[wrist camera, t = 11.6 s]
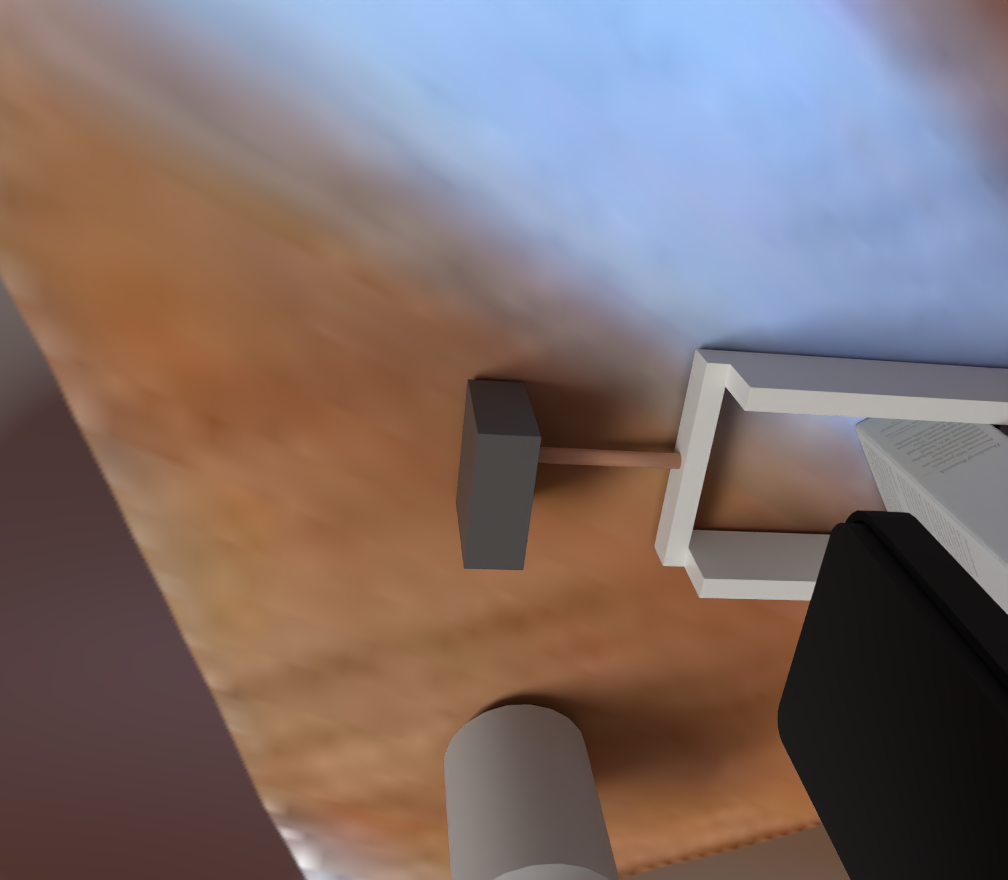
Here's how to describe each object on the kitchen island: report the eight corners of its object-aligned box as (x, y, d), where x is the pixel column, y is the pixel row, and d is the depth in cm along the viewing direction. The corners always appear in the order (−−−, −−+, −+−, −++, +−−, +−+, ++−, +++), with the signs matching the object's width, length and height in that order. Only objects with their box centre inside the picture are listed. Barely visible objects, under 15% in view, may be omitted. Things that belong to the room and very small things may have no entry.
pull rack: (472, 334, 38) (485, 393, 33) (1042, 371, 42) (1137, 429, 36) (452, 540, 42) (460, 621, 37) (969, 556, 46) (1045, 632, 41)
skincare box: (970, 479, 44) (1152, 638, 34) (887, 518, 45) (1040, 687, 34) (937, 377, 42) (1124, 515, 31) (850, 421, 42) (1004, 572, 32)
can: (609, 718, 49) (670, 926, 38) (539, 812, 51) (577, 1032, 41) (485, 673, 46) (512, 881, 36) (418, 774, 49) (425, 996, 38)
